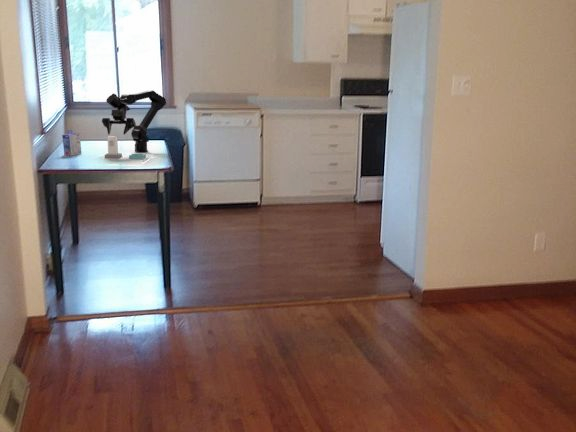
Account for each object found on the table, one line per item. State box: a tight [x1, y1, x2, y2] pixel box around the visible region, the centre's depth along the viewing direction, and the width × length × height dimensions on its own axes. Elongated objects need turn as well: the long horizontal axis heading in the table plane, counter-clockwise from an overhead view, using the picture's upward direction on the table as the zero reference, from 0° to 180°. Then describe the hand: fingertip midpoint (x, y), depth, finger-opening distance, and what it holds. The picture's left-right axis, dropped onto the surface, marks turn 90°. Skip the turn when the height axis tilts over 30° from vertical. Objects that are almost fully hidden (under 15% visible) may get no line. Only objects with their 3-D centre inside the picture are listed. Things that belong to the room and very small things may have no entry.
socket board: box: [101, 152, 150, 163], centre depth 350 cm, size 24×12×3 cm, turn 87°
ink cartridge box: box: [61, 129, 82, 157], centre depth 363 cm, size 10×6×14 cm, turn 161°
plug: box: [107, 135, 119, 155], centre depth 349 cm, size 5×4×12 cm
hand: (116, 134), depth 357 cm, fingers open, 9 cm apart
